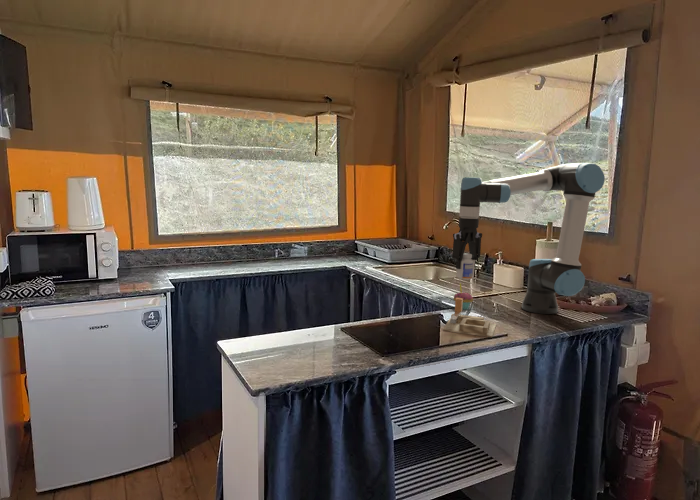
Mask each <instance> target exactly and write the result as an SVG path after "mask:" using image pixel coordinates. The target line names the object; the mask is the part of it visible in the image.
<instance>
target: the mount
mask: <svg viewBox="0 0 700 500" xmlns="http://www.w3.org/2000/svg"><path fill="white" fill-rule="evenodd" d="M453 314H454V313H451V315H450V318H449V320H448V321H447V322H446V323H445V325H444V327H443V328H442V331H443V332H449V333H450V332H451V333H457V334H458V333H459V334H465V335H473V336H479V337H487V338H493V336H494V333H495V329H496V327H497V323H493V322H491V321H490V320H487V319H486V320H485V317H481V316H473V315H466V314H465V315H464V314H461V315H460V317H459V319H458V320H457V322H456V324H455V323H450V319H451V317H452V316H453Z"/></svg>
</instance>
